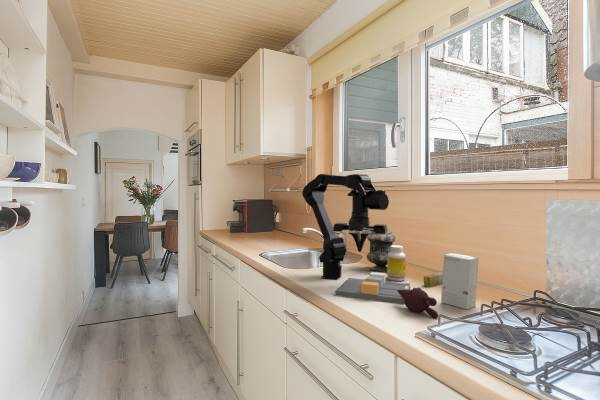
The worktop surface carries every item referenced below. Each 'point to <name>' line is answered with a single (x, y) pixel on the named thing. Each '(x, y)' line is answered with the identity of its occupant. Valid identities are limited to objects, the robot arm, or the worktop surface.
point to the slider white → (378, 275)
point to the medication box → (433, 279)
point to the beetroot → (419, 301)
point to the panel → (385, 294)
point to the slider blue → (375, 280)
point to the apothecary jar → (380, 250)
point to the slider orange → (370, 288)
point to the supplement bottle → (396, 263)
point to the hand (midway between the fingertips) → (359, 251)
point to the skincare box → (459, 280)
